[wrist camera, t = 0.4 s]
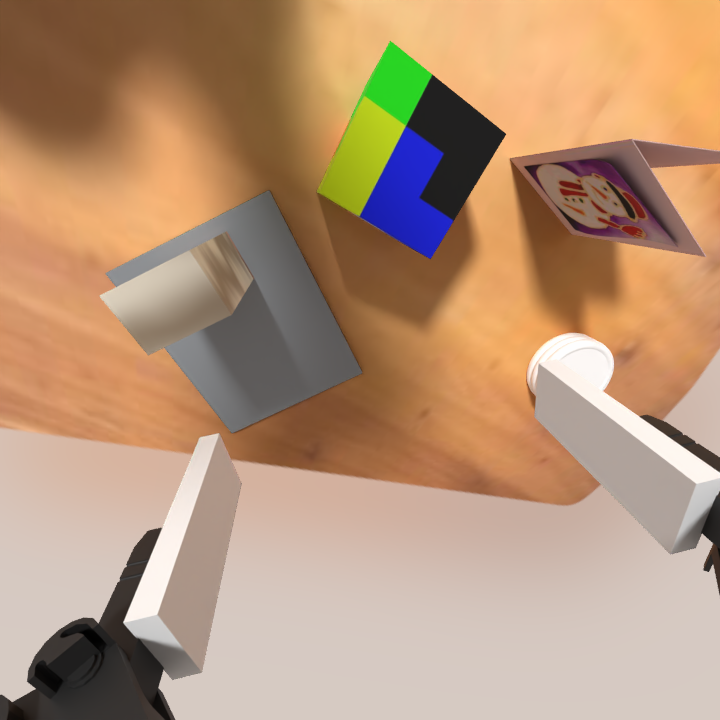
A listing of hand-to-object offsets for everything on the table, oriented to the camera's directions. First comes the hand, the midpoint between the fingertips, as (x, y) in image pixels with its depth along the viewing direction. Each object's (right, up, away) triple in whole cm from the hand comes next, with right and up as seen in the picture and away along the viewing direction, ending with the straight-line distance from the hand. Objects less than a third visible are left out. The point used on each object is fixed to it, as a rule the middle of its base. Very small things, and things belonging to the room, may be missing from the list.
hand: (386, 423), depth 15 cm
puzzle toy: (+1, +21, +20) cm, 29 cm away
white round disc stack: (+26, +2, +33) cm, 42 cm away
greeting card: (+20, +22, +23) cm, 37 cm away
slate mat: (-13, +6, +25) cm, 29 cm away
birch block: (-16, +12, +21) cm, 29 cm away
